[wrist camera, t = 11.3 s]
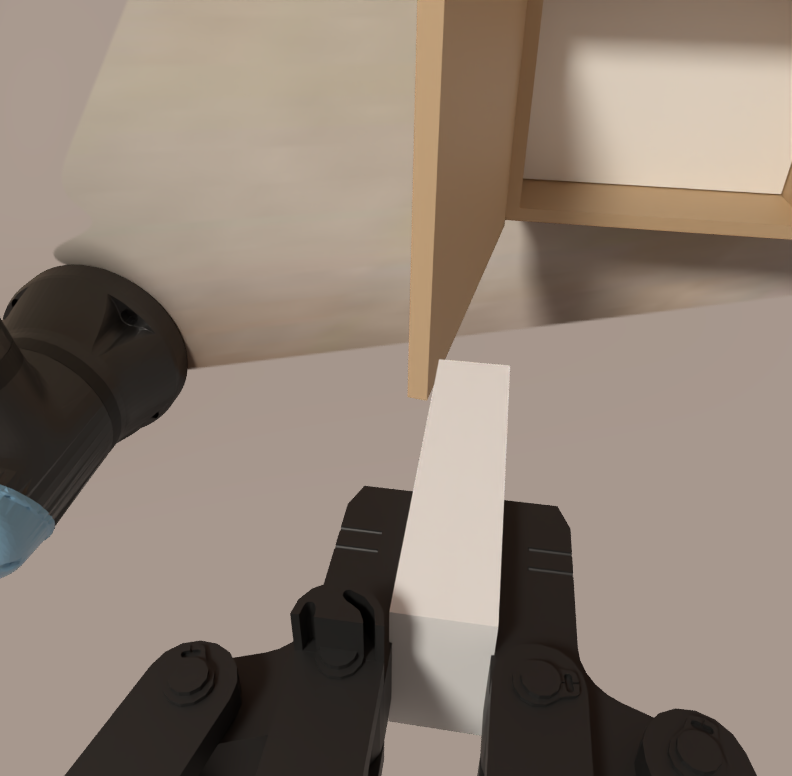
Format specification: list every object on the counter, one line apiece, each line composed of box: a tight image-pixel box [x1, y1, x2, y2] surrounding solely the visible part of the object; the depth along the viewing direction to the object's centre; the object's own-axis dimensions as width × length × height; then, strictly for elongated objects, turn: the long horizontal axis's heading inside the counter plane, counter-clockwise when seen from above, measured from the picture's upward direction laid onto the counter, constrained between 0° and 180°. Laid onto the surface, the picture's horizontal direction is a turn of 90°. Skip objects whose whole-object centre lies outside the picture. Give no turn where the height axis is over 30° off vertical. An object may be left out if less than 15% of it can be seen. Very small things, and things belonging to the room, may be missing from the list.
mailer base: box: [505, 0, 792, 240], centre depth 41 cm, size 18×14×6 cm
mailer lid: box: [408, 0, 528, 400], centre depth 32 cm, size 19×15×1 cm
